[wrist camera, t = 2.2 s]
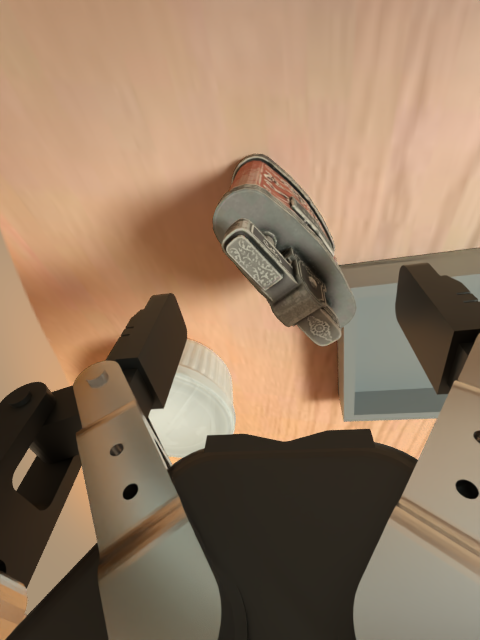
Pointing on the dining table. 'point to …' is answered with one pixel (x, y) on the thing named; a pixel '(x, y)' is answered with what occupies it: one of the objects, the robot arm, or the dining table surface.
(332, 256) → the lighter
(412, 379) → the tray
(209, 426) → the ramekin
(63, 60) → the dining table surface
